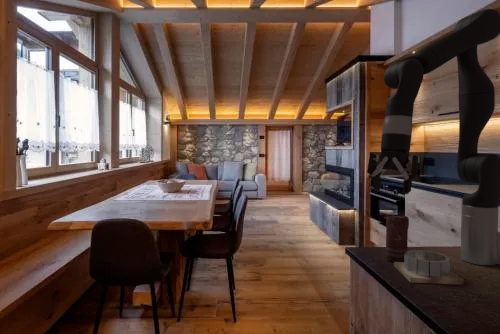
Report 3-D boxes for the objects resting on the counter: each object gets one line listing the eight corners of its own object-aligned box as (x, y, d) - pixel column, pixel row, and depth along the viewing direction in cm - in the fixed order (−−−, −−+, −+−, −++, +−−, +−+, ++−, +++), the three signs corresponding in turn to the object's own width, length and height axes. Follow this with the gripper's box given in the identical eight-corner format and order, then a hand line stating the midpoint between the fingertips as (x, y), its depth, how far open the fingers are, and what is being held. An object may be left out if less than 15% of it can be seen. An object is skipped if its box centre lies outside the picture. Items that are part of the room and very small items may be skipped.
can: (410, 264, 102) (411, 218, 102) (387, 262, 104) (388, 217, 103) (405, 258, 108) (406, 214, 108) (384, 257, 110) (384, 213, 109)
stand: (440, 267, 100) (440, 263, 99) (463, 284, 87) (463, 279, 87) (394, 265, 101) (394, 261, 101) (410, 282, 88) (410, 277, 88)
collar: (438, 264, 98) (438, 250, 98) (457, 278, 88) (457, 262, 88) (399, 263, 100) (399, 249, 99) (413, 276, 89) (413, 261, 89)
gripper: (429, 135, 91) (422, 195, 92) (380, 135, 102) (374, 189, 103) (415, 131, 87) (409, 195, 87) (366, 132, 98) (360, 188, 98)
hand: (390, 191), depth 95 cm, fingers open, 8 cm apart
